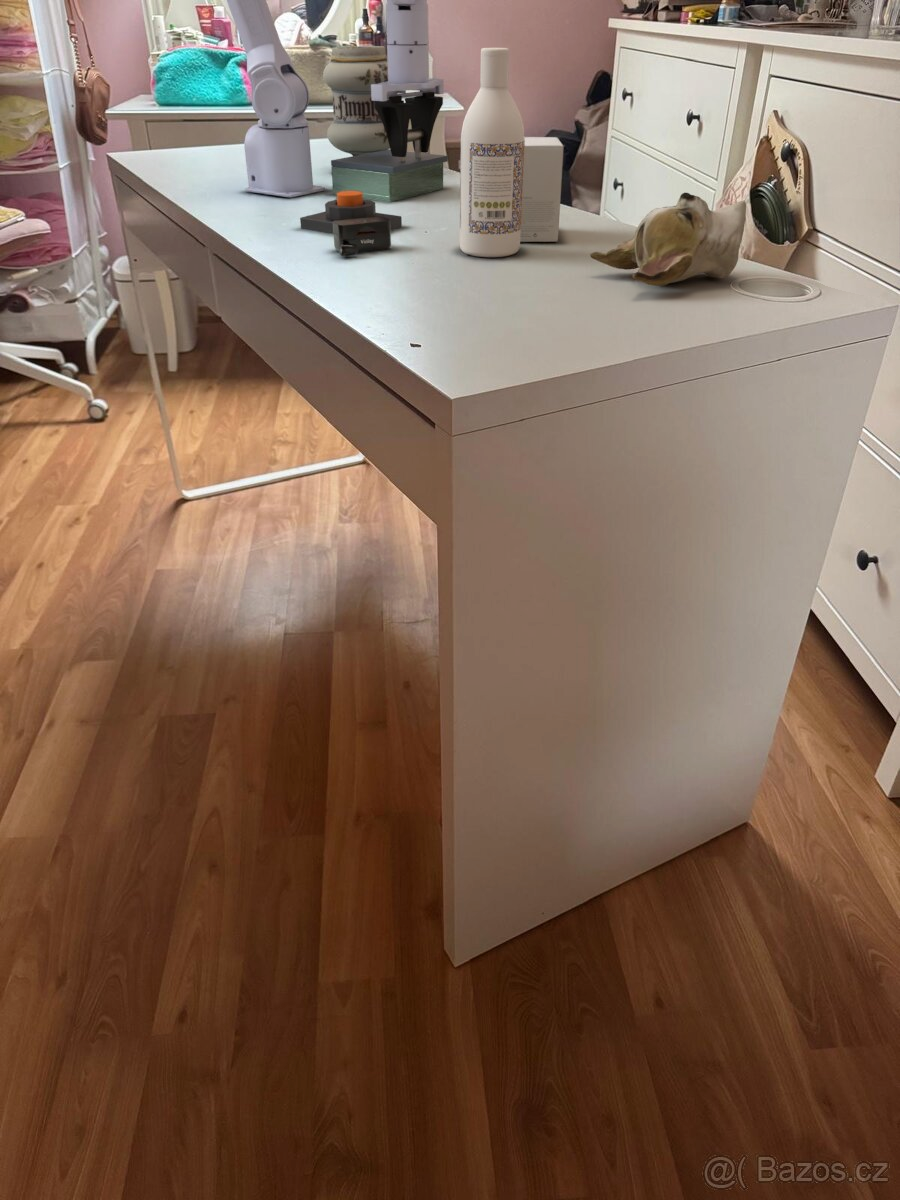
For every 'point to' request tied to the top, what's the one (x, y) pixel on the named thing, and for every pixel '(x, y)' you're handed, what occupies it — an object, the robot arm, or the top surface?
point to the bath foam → (492, 164)
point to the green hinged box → (388, 182)
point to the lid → (392, 158)
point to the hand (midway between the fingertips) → (410, 154)
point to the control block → (344, 216)
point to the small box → (541, 189)
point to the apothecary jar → (356, 98)
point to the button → (349, 198)
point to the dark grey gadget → (361, 235)
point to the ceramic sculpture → (681, 242)
